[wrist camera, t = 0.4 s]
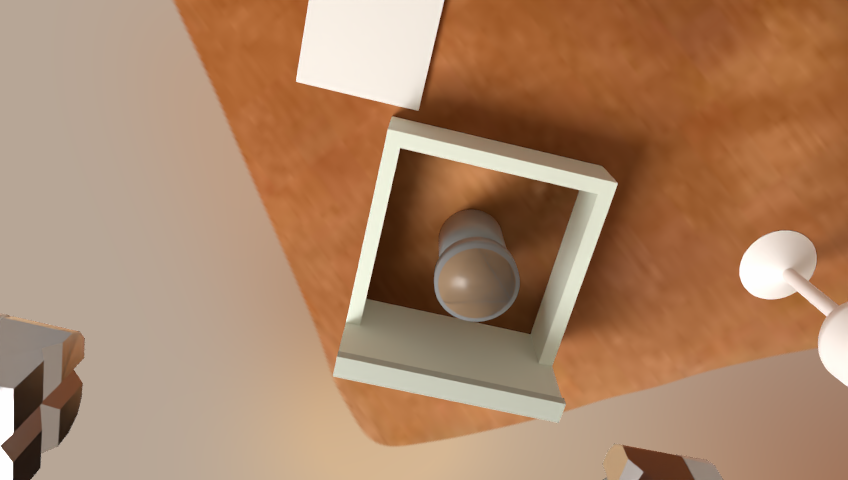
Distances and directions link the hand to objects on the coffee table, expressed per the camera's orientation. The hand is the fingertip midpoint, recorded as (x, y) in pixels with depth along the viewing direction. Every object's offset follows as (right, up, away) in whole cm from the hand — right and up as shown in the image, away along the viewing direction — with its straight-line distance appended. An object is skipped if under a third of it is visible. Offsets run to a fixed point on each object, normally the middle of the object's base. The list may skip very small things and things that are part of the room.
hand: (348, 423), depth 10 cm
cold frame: (+5, +3, +47) cm, 48 cm away
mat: (-3, +19, +41) cm, 45 cm away
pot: (+5, +3, +47) cm, 48 cm away
